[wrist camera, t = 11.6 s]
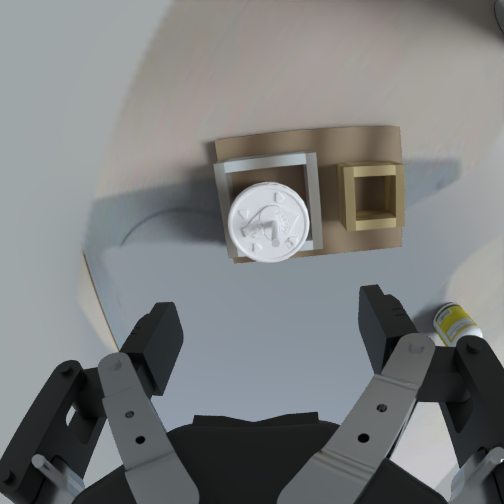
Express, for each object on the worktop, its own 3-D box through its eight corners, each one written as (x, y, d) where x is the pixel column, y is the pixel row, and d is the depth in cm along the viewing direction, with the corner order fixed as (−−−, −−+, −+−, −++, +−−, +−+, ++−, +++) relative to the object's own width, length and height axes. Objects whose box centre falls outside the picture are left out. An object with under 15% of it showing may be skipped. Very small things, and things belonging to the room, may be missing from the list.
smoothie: (307, 216, 33) (328, 275, 20) (251, 234, 34) (237, 300, 21) (289, 160, 31) (300, 182, 18) (231, 179, 32) (201, 215, 19)
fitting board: (394, 126, 29) (413, 127, 25) (397, 242, 35) (412, 258, 30) (217, 140, 32) (207, 142, 27) (235, 258, 37) (230, 277, 32)
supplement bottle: (456, 328, 39) (484, 367, 30) (429, 333, 40) (454, 376, 31) (464, 299, 37) (496, 336, 28) (436, 304, 38) (466, 345, 29)
